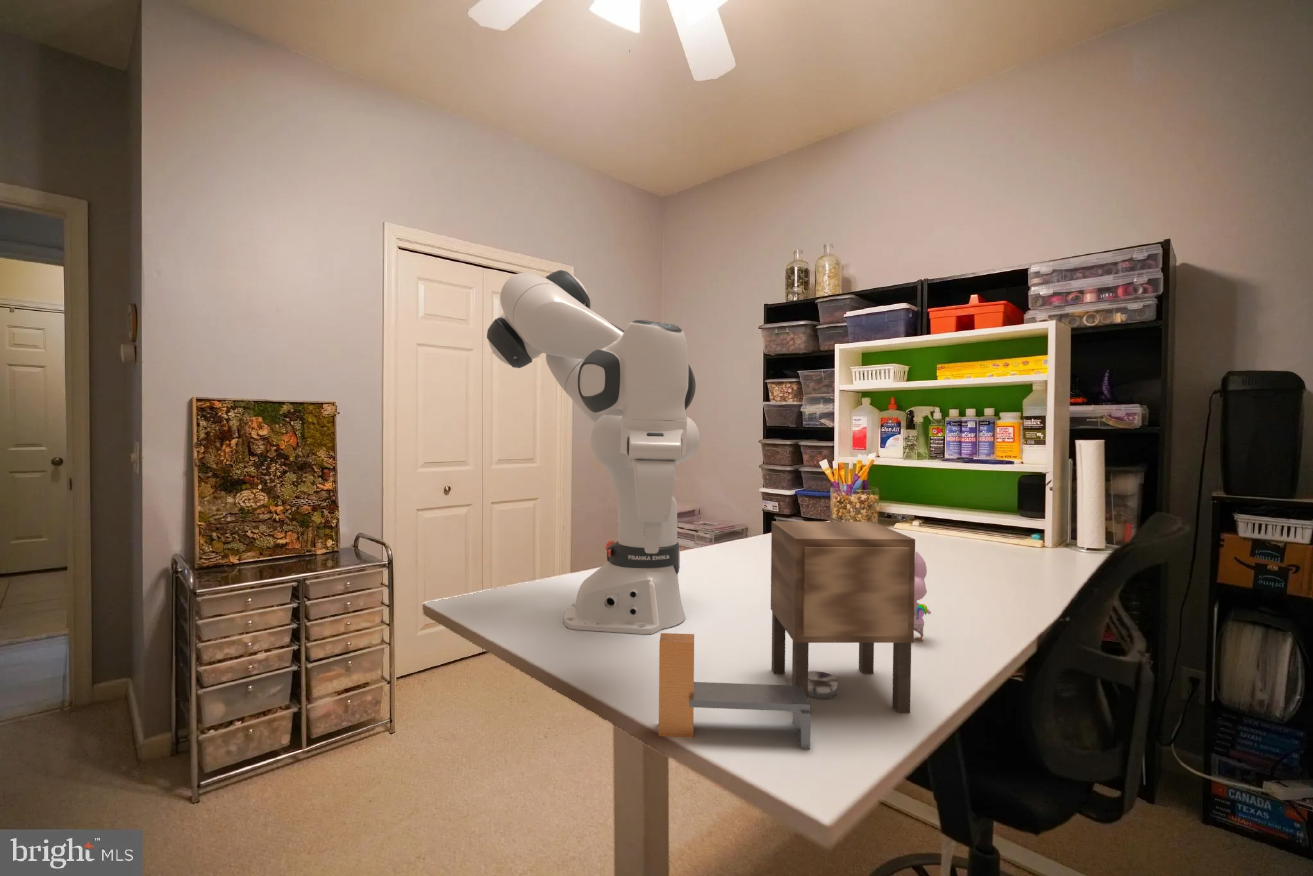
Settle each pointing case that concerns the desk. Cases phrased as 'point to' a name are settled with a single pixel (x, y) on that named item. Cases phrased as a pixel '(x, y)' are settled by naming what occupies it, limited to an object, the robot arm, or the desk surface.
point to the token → (822, 685)
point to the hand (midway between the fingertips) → (650, 544)
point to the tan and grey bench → (716, 693)
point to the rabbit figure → (919, 594)
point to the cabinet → (843, 595)
